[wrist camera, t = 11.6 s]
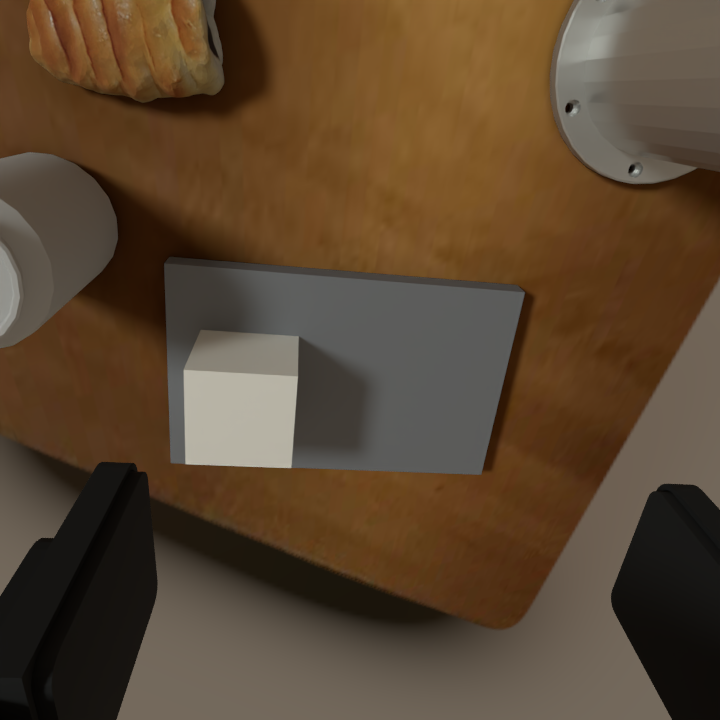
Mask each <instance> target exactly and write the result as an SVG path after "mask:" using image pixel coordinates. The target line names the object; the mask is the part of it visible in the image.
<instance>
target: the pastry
mask: <svg viewBox="0 0 720 720" xmlns="http://www.w3.org/2000/svg"><path fill="white" fill-rule="evenodd" d="M215 5H216V0H30V3H29V7H28V10H27V26H28V32H29V37H30V44H29V46H30V52H31V55H32V57H33V58H34V60H35V61H36V62H37V63H39V64H40V65H41V66H43V67H44V68H45V69H46V70H47V71H49V72H50V73H51V74H52V75H53V76H54V77H56V78H57V79H58V80H60V81H62V82H65V83H69V84H73V85H79V86H82V87H83V88H85V89H87V90H93V91H95V92H97V93H101V94H109V95H123V96H128V97H131V98H133V99H134V100H136V101H139V102H142V103H144V102H149V101H152V100H154V99H156V98H166V97H176V98H181V97H189V96H192V95H196V94H202V93H204V94H208V95H215V94H216V93H218V92H219V91H220V90H221V88H222V86H223V85H224V74H223V68H222V63H223V52H222V45H221V42H220V39H219V35H218V30H217V26H216V23H215V21H214V10H215Z"/></svg>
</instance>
